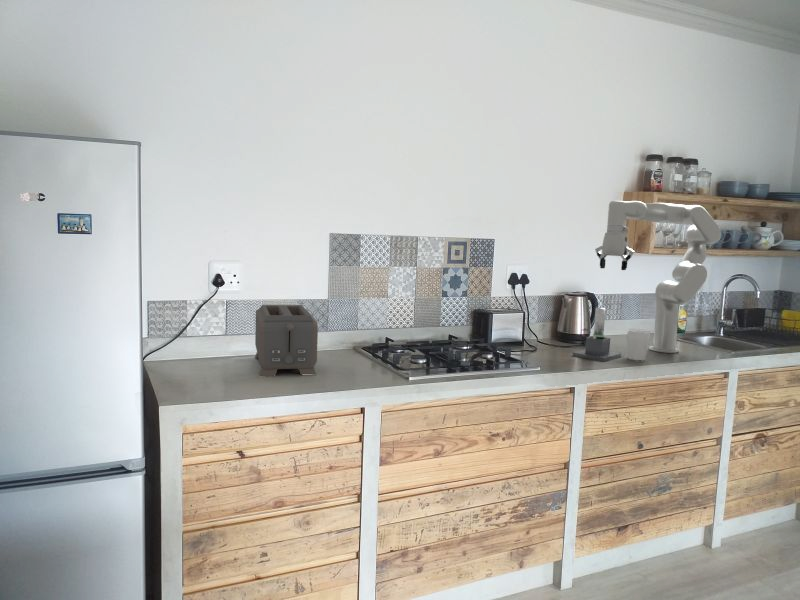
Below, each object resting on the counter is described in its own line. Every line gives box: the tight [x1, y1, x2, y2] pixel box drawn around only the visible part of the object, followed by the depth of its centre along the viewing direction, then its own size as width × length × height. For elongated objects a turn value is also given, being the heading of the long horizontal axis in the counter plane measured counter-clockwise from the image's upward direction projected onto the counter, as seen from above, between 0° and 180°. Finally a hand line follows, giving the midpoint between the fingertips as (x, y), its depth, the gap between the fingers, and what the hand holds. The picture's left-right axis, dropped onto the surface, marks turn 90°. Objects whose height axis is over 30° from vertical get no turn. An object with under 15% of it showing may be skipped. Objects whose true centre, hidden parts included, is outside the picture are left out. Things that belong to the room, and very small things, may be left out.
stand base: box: [572, 335, 622, 363], centre depth 275 cm, size 16×14×9 cm
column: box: [592, 307, 607, 339], centre depth 273 cm, size 4×4×13 cm
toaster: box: [254, 304, 319, 377], centre depth 233 cm, size 19×35×20 cm, turn 15°
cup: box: [626, 328, 651, 361], centre depth 273 cm, size 9×9×12 cm
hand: (612, 269), depth 284 cm, fingers open, 9 cm apart
